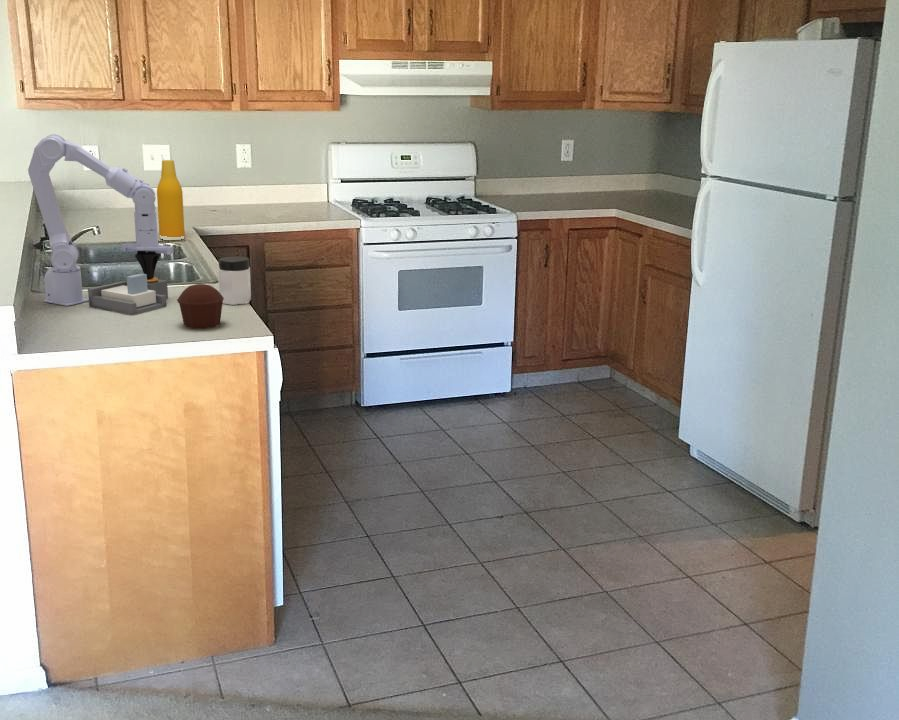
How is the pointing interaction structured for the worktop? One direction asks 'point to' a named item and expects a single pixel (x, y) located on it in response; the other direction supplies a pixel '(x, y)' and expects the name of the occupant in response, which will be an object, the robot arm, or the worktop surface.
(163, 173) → the beer bottle
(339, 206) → the worktop surface
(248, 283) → the jar
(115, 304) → the housing
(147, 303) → the white blue stepped block
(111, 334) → the worktop surface
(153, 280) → the orange round piece
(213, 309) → the muffin
